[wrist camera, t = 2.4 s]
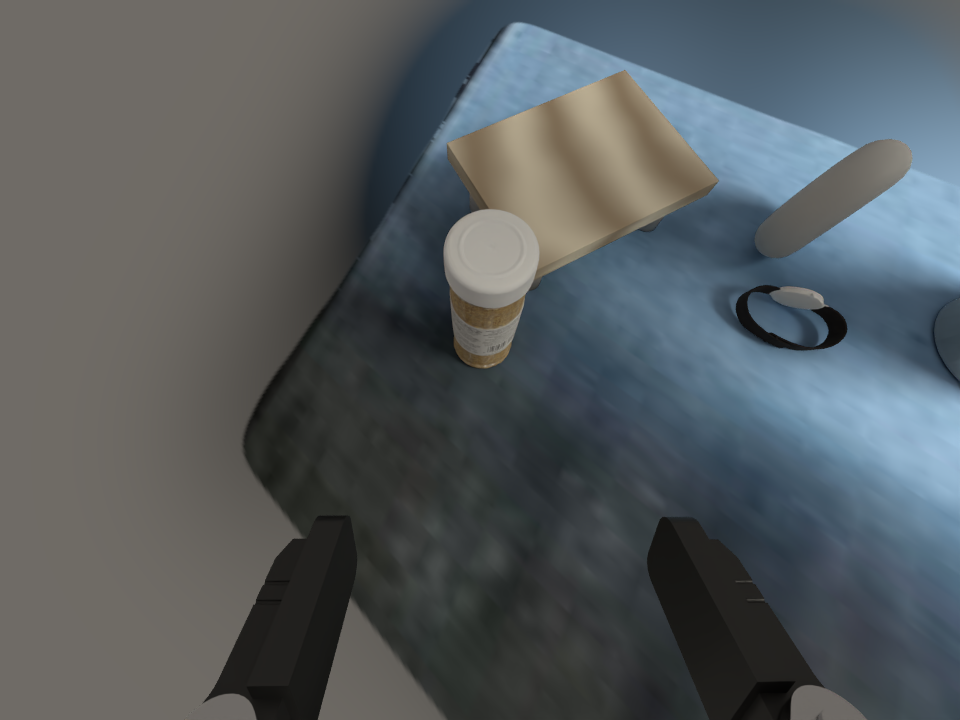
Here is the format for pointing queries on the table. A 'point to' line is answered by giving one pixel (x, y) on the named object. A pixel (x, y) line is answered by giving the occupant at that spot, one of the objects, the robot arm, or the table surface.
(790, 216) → the donut
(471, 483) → the table surface
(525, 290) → the sprinkles bottle
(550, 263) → the small wooden stool
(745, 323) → the watch
